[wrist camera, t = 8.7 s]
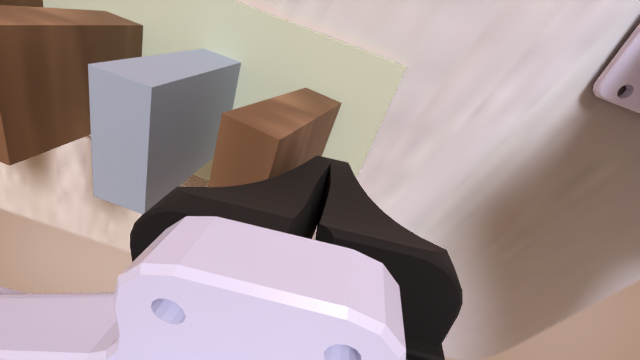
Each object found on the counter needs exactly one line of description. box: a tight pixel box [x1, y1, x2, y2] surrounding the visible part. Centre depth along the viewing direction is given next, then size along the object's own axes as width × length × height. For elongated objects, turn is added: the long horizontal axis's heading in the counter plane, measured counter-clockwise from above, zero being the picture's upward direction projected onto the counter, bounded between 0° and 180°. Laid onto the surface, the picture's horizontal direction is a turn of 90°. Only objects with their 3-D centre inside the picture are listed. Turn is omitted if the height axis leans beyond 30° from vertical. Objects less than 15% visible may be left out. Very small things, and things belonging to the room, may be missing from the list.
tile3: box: [0, 5, 143, 165], centre depth 12 cm, size 2×4×6 cm, turn 162°
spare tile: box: [88, 48, 241, 214], centre depth 12 cm, size 2×4×6 cm, turn 162°
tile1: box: [208, 88, 342, 187], centre depth 12 cm, size 2×4×6 cm, turn 161°
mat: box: [43, 0, 407, 181], centre depth 15 cm, size 25×9×1 cm, turn 71°
